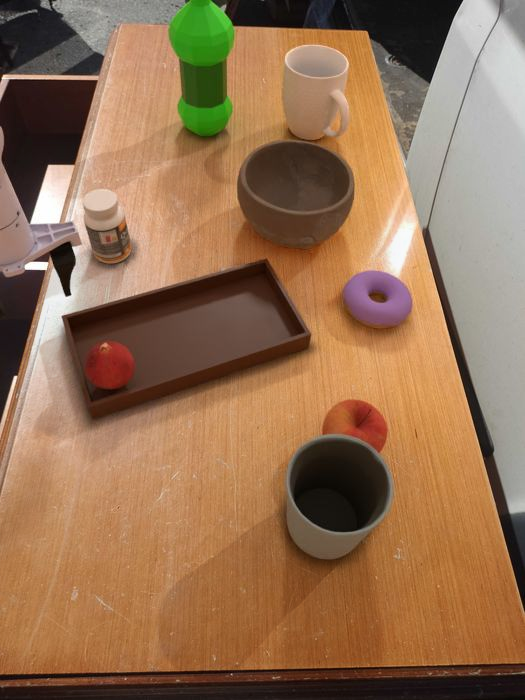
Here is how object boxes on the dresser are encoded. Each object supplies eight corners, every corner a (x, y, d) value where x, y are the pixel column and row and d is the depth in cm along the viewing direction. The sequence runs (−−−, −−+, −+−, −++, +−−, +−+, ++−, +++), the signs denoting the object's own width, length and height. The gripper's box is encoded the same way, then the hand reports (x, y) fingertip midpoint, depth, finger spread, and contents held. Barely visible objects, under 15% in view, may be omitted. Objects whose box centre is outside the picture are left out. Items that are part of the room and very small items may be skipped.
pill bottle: (136, 259, 84) (125, 208, 75) (98, 269, 82) (83, 217, 74) (127, 234, 87) (115, 182, 78) (90, 243, 85) (74, 191, 77)
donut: (421, 299, 81) (428, 281, 77) (390, 348, 78) (395, 332, 74) (361, 269, 84) (364, 250, 80) (329, 315, 81) (330, 298, 77)
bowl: (330, 276, 83) (341, 226, 75) (219, 245, 86) (218, 193, 78) (357, 204, 93) (369, 152, 85) (256, 178, 96) (258, 126, 87)
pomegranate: (94, 406, 69) (79, 370, 62) (89, 368, 72) (74, 330, 65) (141, 395, 70) (132, 360, 63) (134, 358, 73) (124, 321, 66)
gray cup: (385, 519, 63) (414, 478, 53) (330, 590, 58) (351, 560, 48) (315, 462, 66) (330, 413, 56) (258, 524, 62) (263, 484, 52)
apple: (305, 442, 68) (313, 411, 61) (348, 409, 70) (359, 375, 64) (348, 487, 65) (361, 459, 58) (390, 451, 67) (407, 420, 61)
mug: (363, 146, 102) (378, 77, 92) (316, 166, 98) (327, 97, 88) (312, 106, 109) (321, 38, 98) (267, 124, 105) (271, 54, 94)
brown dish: (92, 420, 68) (87, 407, 66) (66, 329, 76) (61, 315, 73) (309, 347, 76) (311, 334, 73) (265, 272, 83) (266, 257, 81)
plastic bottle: (214, 151, 99) (209, -1, 79) (166, 131, 102) (149, -21, 82) (244, 124, 104) (247, -25, 84) (198, 106, 107) (190, -44, 87)
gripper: (-85, 261, 51) (-25, 345, 62) (74, 219, 54) (103, 306, 66) (-92, 211, 54) (-34, 299, 65) (58, 175, 58) (88, 264, 69)
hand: (34, 299), depth 66 cm, fingers open, 7 cm apart
